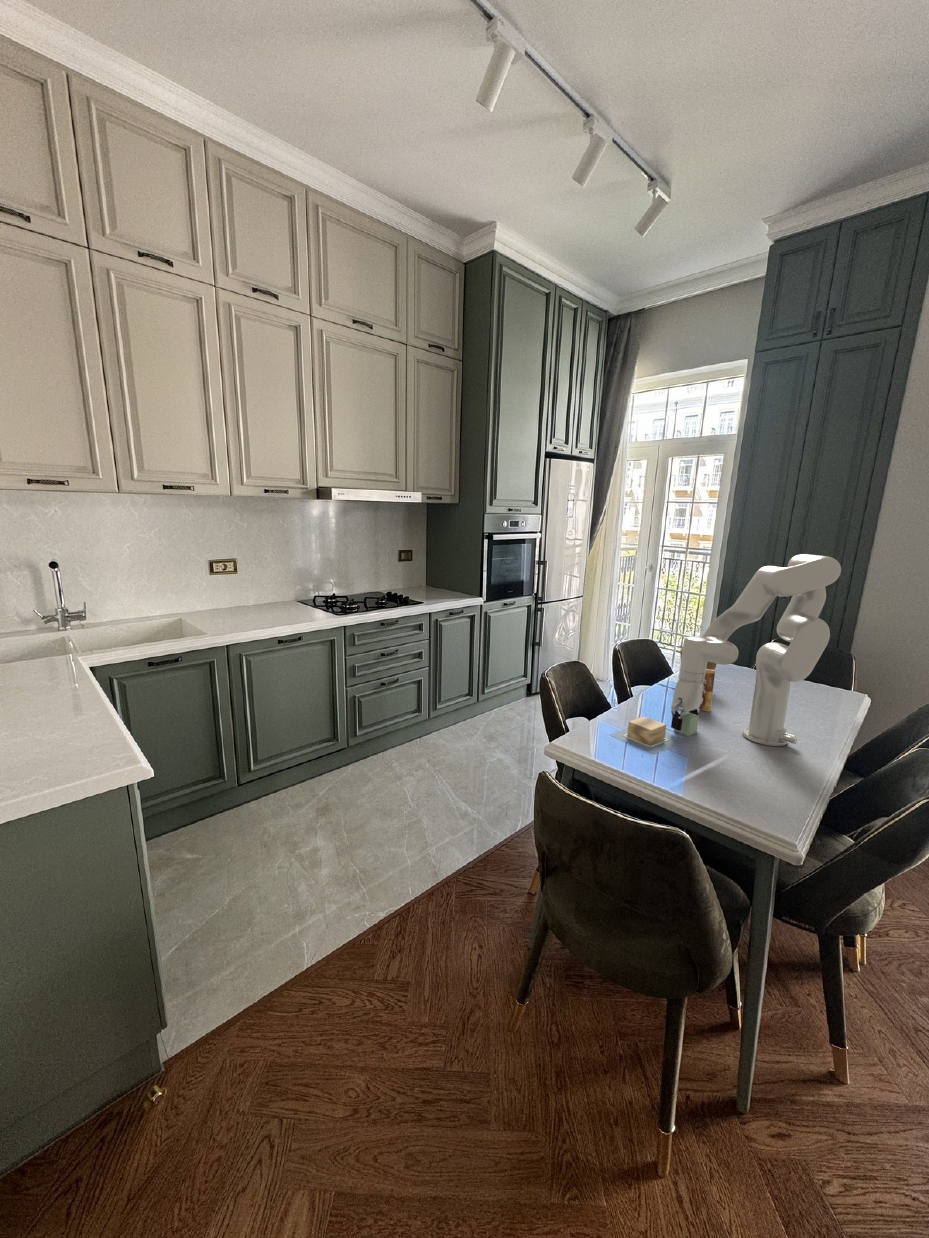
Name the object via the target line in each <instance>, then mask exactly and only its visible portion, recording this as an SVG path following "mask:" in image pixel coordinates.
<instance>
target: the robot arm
mask: <svg viewBox="0 0 929 1238" xmlns="http://www.w3.org/2000/svg"><path fill="white" fill-rule="evenodd" d="M841 572H842V567H841V564H840V562H839V561H838V560H837V559H835V558H834V557H831V556H826V555H818V554H817V555H816V554H809V553H803V554H802V553H800V554H797V555H794V556H793V557H791V558H790V559H789V561H788V563H787V567H783V566H776V565H765V566H762V567H760V568H759V569H758V570H757V571H756V572H755V573H754V574H753V577H752V578H751V579H750V581H749V582H748V583H747V585H746V586H745V588H744V589H743V591H742V592H741V593H740V595H739V597H738V598H737V599H736V601H735V602H734V604H733V605H732V606H730V607H729V608H727V609H726V610H725V611H723V613H721V614H720V615H719V616H717V617H716V618H715V619H714V620H713V621H712V622H711V623H710V624H709V626H708V628H707V629H706V631H705V632H704V634H703V635H702V636H701V637H700V636H699V637H698V636H687V637H685V638H684V639H683V644H682V648H683V650H682V657H681V658H680V666H679V672H678V679H677V681H676V685H675V688H674V691H673V696H672V697H673V698H672V701H671V702H672V703H671V705H670V709H671V711H670V712H671V724H670V728H671V729H673V730H674V729H676V730H678V731H680V730H681V727H682V720H683V719H682V716H683V714H684V712H689V713H692V714H695V715H698V716H700V714H699V713H700V712H701V710H700V707H701V703H702V701H703V698H702V691H703V683H704V678H705V672H706V666H707V662H712V663H716V664H717V665H721V666H724V665H725V666H727V665H730V664H734V663H735V662H736V661H737V660H738V657H739V650H738V647H737V646H736V644H734V643H732V642H730V641H729V640H728V639H729V638H730V636H731V635H732V634H733V633H734V632H735V631H736V630H738V629H739V628H740V627H742V626H745V625H746V626H747V625H749V624H752V623H755V622H758V621H759V620H761V618H762V617H764V614H766V611H767V610H768V608H769V607H770V605H772V603H773V602H774V600H775V599H776V597H782V598H785V597H791V599H790V601H789V603H788V605H787V607H786V608H785V610H784V612H783V614H782V616H781V617H780V619H779V621H778V623H777V626H776V633H777V635H778V637H779V638H781V639H783V640H784V641H786V642H787V643H788V642H789V643H790V644H789V645H786V644H783V643H780V642H774V641H773V642H772V641H771V642H768V643H765V644H763V645H762V646H760V648H759V649H758V651H757V653H756V657H755V665H756V666H755V671H756V675H755V677H756V678H755V684H754V691H753V696H752V697H753V699H752V704H751V710H750V717H749V723H748V727H745V728H743V730H742V735H743V736H744V737H745V739H748V740H749V741H751V742H754V743H757V744H760V745H764V746H772V747H783V746H785V745H787V744H788V743H789V744H790V743H791V744H793V745H795V744H797V741H798V739H797V737H796V735H793V734H789V733H788V732H787V729H788V728H786V727H785V721H786V715H787V708H788V703H789V697H790V691H791V683H798V682H801V681H804V680H805V679H806V678H807V677H809V676H810V674H811V673H812V671H813V670H814V668H815V666H816V665H817V663H818V661H819V659H820V658H821V656H822V655H823V652H824V651H825V649H826V648H827V646H828V644H829V641H830V638H831V632H830V631H831V630H830V627H829V625H828V624H827V623H826V621H825V620H823V619H822V618H820V614H821V612H822V611H823V607H824V606H825V603H826V600H827V591H826V587H827V586H830V585H831V584H833V583H835V581H837V580H838V579H839V578H840V576H841ZM679 713H680V714H679Z"/></svg>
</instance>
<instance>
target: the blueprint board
mask: <svg viewBox="0 0 929 1238" xmlns="http://www.w3.org/2000/svg"><path fill="white" fill-rule="evenodd" d="M627 734H628V727H626V728H625V729H621V730H619V731H615V732H613V733H610V734H609V736H610V737H613V738H615V739H617V740H619V741H622V742H624V743H627V744H628V745H630V746H634V747H636V748H639V749H641V750H642V751H646V752H648V753H650V754H653V755H656V754H658V753H660V752H662V751H665V750H668V749H670V748H672V747H674V746H676V745H679V744H681V743H683V742H684V741H683V740H680V739H678V738H675V737H673V736H670V735H668V734H666V733H665V740H663V741H660V742H658V743H655V744H653V745H650V746H649V745H647V744H644V743H642V742H639V741H637V740H635V739H632V738H630V737H627Z"/></svg>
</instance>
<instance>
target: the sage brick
mask: <svg viewBox="0 0 929 1238" xmlns="http://www.w3.org/2000/svg"><path fill="white" fill-rule="evenodd" d="M679 714H680V712H679ZM699 716H700V715H695V714H692V713H689V711H688V712H684V714H683V716H682V719H683V720H682V727H681V730H680V731H678V730H676V729H673V731H675V732H677V733H680V734H682V735H685V736H688V737H689V736H692V735H694V734H697V732H698V725H699Z"/></svg>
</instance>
